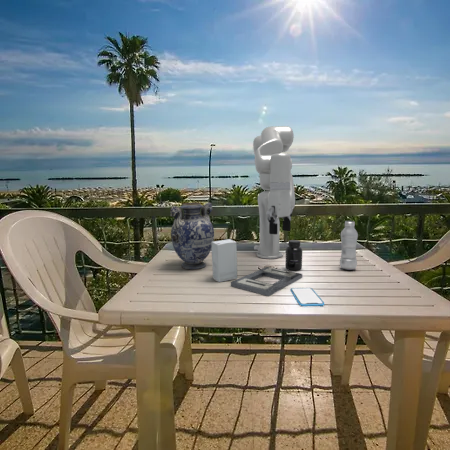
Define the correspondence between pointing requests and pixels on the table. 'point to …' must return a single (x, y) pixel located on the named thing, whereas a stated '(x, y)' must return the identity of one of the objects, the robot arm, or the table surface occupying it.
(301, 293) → the smartphone
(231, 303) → the table surface
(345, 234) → the plastic bottle
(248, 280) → the label panel
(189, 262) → the decorative vase
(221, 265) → the skincare box
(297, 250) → the supplement bottle
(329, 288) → the table surface
